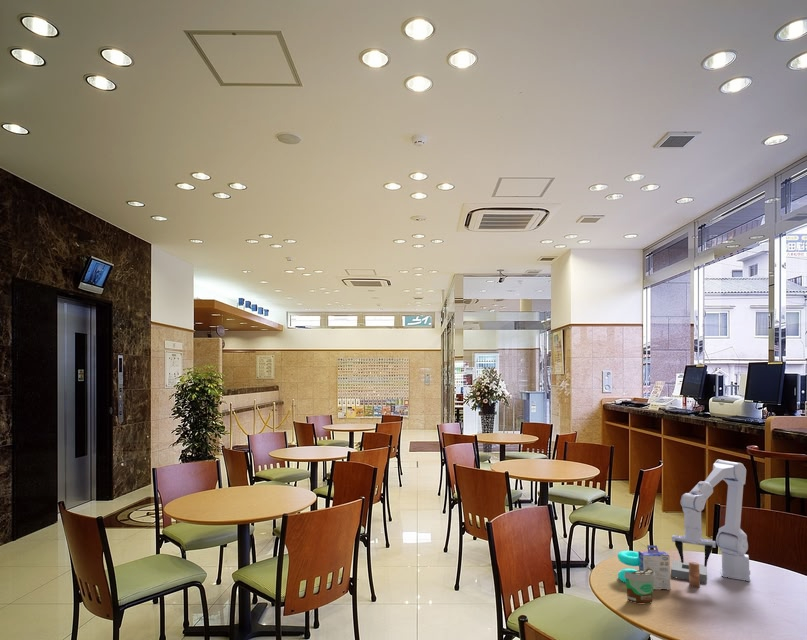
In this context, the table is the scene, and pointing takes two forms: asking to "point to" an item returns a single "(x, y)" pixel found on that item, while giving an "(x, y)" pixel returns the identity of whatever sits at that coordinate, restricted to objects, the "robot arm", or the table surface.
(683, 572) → the socket block
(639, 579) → the food container
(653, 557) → the ink cartridge box
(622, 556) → the donuts
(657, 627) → the table surface
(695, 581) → the peg
